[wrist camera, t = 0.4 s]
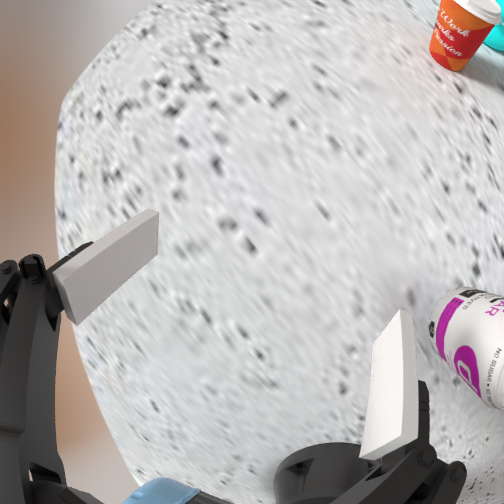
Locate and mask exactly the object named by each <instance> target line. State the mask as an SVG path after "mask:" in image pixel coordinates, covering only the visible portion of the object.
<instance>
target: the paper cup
mask: <svg viewBox="0 0 504 504" xmlns="http://www.w3.org/2000/svg"><path fill="white" fill-rule="evenodd" d="M501 21H502V18H501V8H500V6H499V4H498V3H497V2H496V0H441V3H440V7H439V11H438V15H437V19H436V23H435V27H434V31H433V35H432V39H431V43H430V48H429V50H430V53H431V55H432V57H433V58H434V59H435V61H436V62H438V63H439V64H440V65H441V66H443V67H444V68H446V69H448V70H451V71H460V70H461V69H462V68H463V67H464V66H465V65H466V64H467V63H468V61H469V60H470V59H471V57H472V56H473V55H474V54H475V52H476V51H477V50H478V48H479V47H480V46H481V44H482V43H483V41H484V40H485V39H486V37H487V36H488V35H489V33H490V32H491V30H492V29H493V28H494V26H495V25H498V24H499V23H501Z"/></svg>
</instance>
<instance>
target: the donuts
mask: <svg viewBox="0 0 504 504" xmlns="http://www.w3.org/2000/svg"><path fill="white" fill-rule="evenodd" d="M496 2H497V3H498V4H499V6H500V8H501V18H502V21H501V22H502V23H504V0H496ZM502 23H499V24H498V25H495V26H494V28H493V29H492V30H491V32H490V33H489V35H488V36H487V37H486V39H485V40H484V41H483V42H484V43H485V44H487V45H488V46H490V47H492V48H494V49H497V50H500V51H504V25H503V24H502Z"/></svg>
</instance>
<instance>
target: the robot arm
mask: <svg viewBox="0 0 504 504" xmlns="http://www.w3.org/2000/svg"><path fill="white" fill-rule="evenodd" d="M158 224H159V213H158V212H156V211H153V210H151V209H146V210H145V211H143V212H141V213H140V214H138V215H136V216H135V217H133V218H132V219H130V220H128V221H127V222H125V223H124V224H122V225H120V226H119V227H117V228H116V229H114V230H113V231H111V232H110V233H108V234H106V235H105V236H103V237H102V238H100V239H99V240H97V241H96V242H89V243H86V244H83V245H81V246H80V247H78V248H77V249H75V250H74V251H72V252H71V253H69V254H68V256H65V257H64V258H62V259H61V260H60V261H58V262H57V263H55V264H54V265H53V266H51V267H50V268H49V269H48V270H46V268H45V265H44V261H43V258H42V257H41V256H40V255H37V254H31V255H28V256H25V257H24V258H23V259H21V260H20V262H19V263H18V265H19V268H20V270H19V268H18V265H17V263H16V262H15V261H13V260H7V261H4V262H3V263H1V264H0V504H103V503H102V502H100V501H99V500H98V499H96V498H95V497H93V496H92V495H91V494H89V493H86V492H82V491H79V490H77V489H74V488H72V487H68V486H67V484H66V478H65V471H64V466H63V463H62V460H61V458H60V456H59V454H58V452H57V444H56V429H55V375H56V360H57V348H58V339H59V331H60V323H61V313H60V312H61V311H63V310H65V313H66V315H67V318H69V319H70V320H71V321H72V322H73V323H75V324H76V325H77V326H78V325H79V324H80V323H81V322H82V321H83V320H84V319H85V318H86V317H87V316H88V315H90V314H91V313H92V312H93V311H94V310H95V309H96V308H97V307H98V306H99V305H100V304H101V303H102V302H104V301H105V300H106V299H107V298H108V297H109V296H110V295H111V294H112V293H114V292H115V291H116V290H117V289H118V288H119V287H120V286H121V285H122V284H124V283H125V282H126V281H127V280H128V279H129V278H130V277H132V276H133V275H134V274H135V273H136V272H137V271H138V270H140V269H141V268H142V267H143V266H144V265H145V264H147V263H148V262H149V261H150V260H151V259H153V258H154V257H155V256H156V255H157V254H158ZM6 299H7V301H8V305H7V306H5V305H4V302H5V300H6ZM429 431H430V413H429V391H428V389H427V386H426V383H425V382H423V381H420V380H418V371H417V356H416V345H415V335H414V326H413V319H412V314H411V313H409V312H406V311H404V310H401V309H399V310H398V312H397V313H396V315H395V316H394V317H393V319H392V320H391V321H390V323H389V324H388V325H387V327H386V328H385V329H384V331H383V332H382V333H381V334H380V336H379V337H378V338H377V339H376V341H375V342H374V343H373V353H372V367H371V379H370V389H369V398H368V406H367V414H366V421H365V427H364V434H363V439H362V445H361V446H358V445H354V444H348V443H325V444H318V445H314V446H310V447H307V448H304V449H301V450H299V451H297V452H295V453H293V454H291V455H290V456H288V457H287V458H286V459H285V460H284V461H283V462H282V463H281V464H280V466H279V467H278V470H277V473H276V476H275V479H274V493H275V499H276V504H456V502H457V499H458V497H459V495H460V493H461V490H462V488H463V485H464V483H465V480H466V476H467V470H466V467H465V465H464V464H463V463H462V462H460V461H455V462H453V463H451V464H447V463H445V462H443V461H441V460H440V459H438V458H437V454H436V451H435V449H434V447H433V446H431V445H430V444H429ZM381 457H383V459H382V463H381V462H380V460H379V458H381ZM28 469H29V470H30V472H31V474H32V479H33V481H30V478H29V470H28ZM122 504H233V503H231V502H228V501H225V500H222V499H220V498H217V497H215V496H212V495H210V494H207V493H205V492H202V491H201V489H198V488H192V487H190V486H187V485H185V484H182V483H180V482H177V481H175V480H173V479H170V478H157V479H154V480H151V481H149V482H147V483H146V484H144V485H143V486H141V487H140V488H139V489H138V490H136V491H135V492H134V493H132V494H131V495H130V496H129V497H128V498H127V499H126V500H125V501H124V502H123V503H122Z"/></svg>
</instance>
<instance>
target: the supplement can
mask: <svg viewBox="0 0 504 504" xmlns="http://www.w3.org/2000/svg"><path fill="white" fill-rule="evenodd" d="M428 332H429V340H430V343H431V345H432V348H433V349H434V350H435V351H436V352H437V353H438V354H439V355H440V356H441V357H442V358H443V359H444V360H445V361H446V362H447V363H448V364H449V365H450V366H451V367H452V368H453V369H454V370H455V371H456V372H457V373H458V374H459V375H460V376H461V377H462V378H463V380H464V381H465V382H466V383H467V384H468V385H469V386H470V387H471V388H472V389H473V390H474V391H475V392H476V394H477V395H478V396H479V397H480V398H481V399H482V400H483V401H484V402H485V403H486V405H487V406H488V407H489V408H494V409H502V410H504V297H502V296H498V295H495V294H491V293H488V292H484V291H481V290H477V289H474V288H470V287H457V288H455V289H452V290H450V291H448V292H447V293H446V294H445V295H444V296H443V297H442V298H441V299H440V300H439V301H438V302H437V304H436V306H435V308H434V309H433V311H432V313H431V317H430V321H429V325H428Z"/></svg>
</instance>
